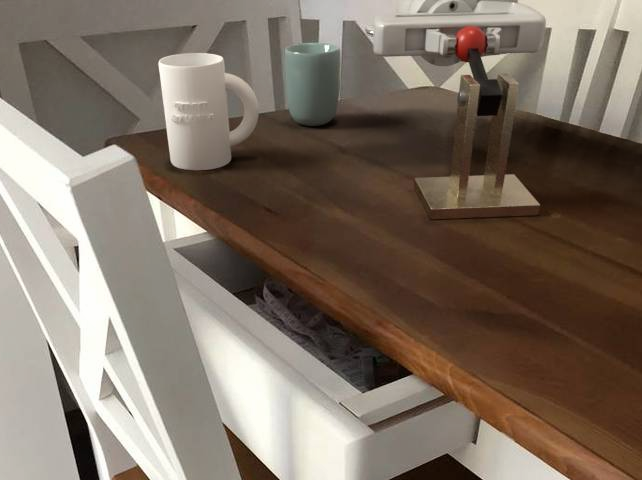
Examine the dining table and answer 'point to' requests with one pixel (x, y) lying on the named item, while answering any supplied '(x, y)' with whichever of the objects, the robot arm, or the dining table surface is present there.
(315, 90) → the cup
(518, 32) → the robot arm
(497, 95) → the switch
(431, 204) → the bracket
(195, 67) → the mug
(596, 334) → the dining table surface
